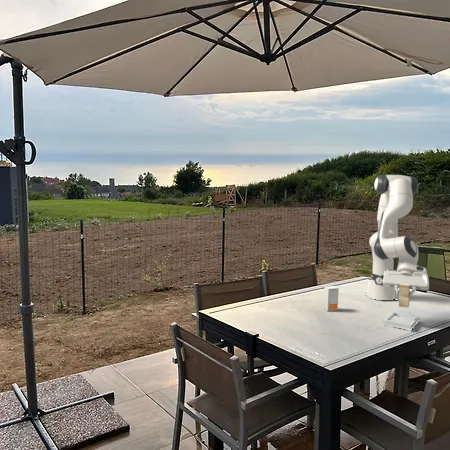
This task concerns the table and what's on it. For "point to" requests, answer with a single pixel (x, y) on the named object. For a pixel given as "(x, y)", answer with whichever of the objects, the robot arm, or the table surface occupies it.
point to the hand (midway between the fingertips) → (404, 295)
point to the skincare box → (331, 298)
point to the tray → (388, 322)
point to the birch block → (404, 295)
